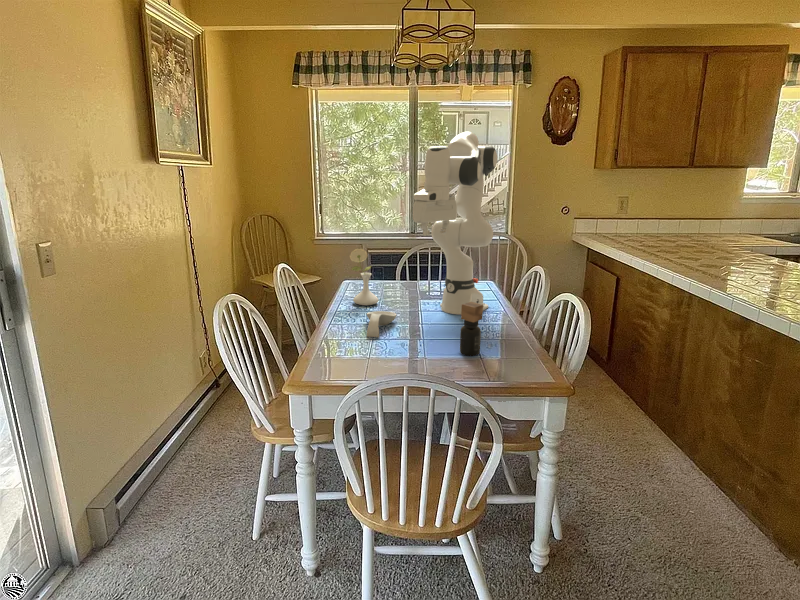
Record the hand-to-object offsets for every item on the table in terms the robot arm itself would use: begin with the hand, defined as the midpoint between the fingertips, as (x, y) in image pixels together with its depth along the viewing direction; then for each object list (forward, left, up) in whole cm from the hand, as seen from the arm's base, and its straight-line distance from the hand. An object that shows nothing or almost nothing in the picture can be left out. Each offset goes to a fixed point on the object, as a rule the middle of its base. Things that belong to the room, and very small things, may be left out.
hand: (435, 234), depth 179 cm
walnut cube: (+6, +22, -25) cm, 34 cm away
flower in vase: (-9, -47, -37) cm, 61 cm away
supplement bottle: (+6, +22, -37) cm, 44 cm away
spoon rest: (+9, -19, -38) cm, 43 cm away
